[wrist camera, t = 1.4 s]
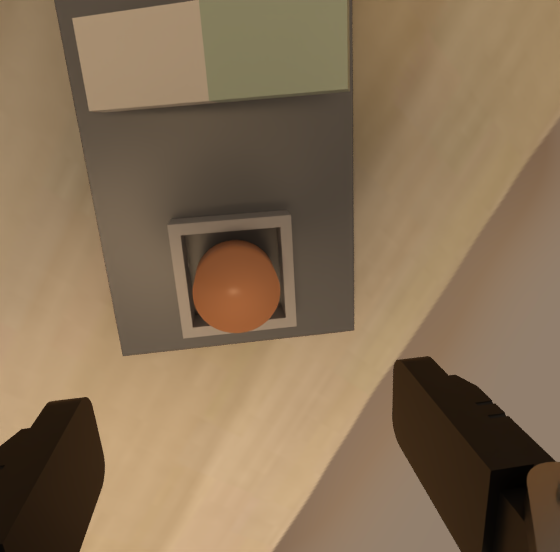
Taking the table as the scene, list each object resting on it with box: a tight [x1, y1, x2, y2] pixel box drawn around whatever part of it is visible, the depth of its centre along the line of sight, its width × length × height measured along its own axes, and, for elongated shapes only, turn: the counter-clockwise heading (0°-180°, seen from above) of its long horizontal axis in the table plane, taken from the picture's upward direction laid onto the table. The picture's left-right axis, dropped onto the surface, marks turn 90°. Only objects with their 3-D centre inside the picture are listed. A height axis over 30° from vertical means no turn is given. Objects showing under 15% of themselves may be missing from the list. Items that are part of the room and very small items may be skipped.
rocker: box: [72, 0, 350, 112], centre depth 15 cm, size 10×3×1 cm, turn 93°
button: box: [193, 240, 280, 333], centre depth 18 cm, size 4×4×2 cm
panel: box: [54, 0, 354, 356], centre depth 18 cm, size 12×25×4 cm, turn 4°
